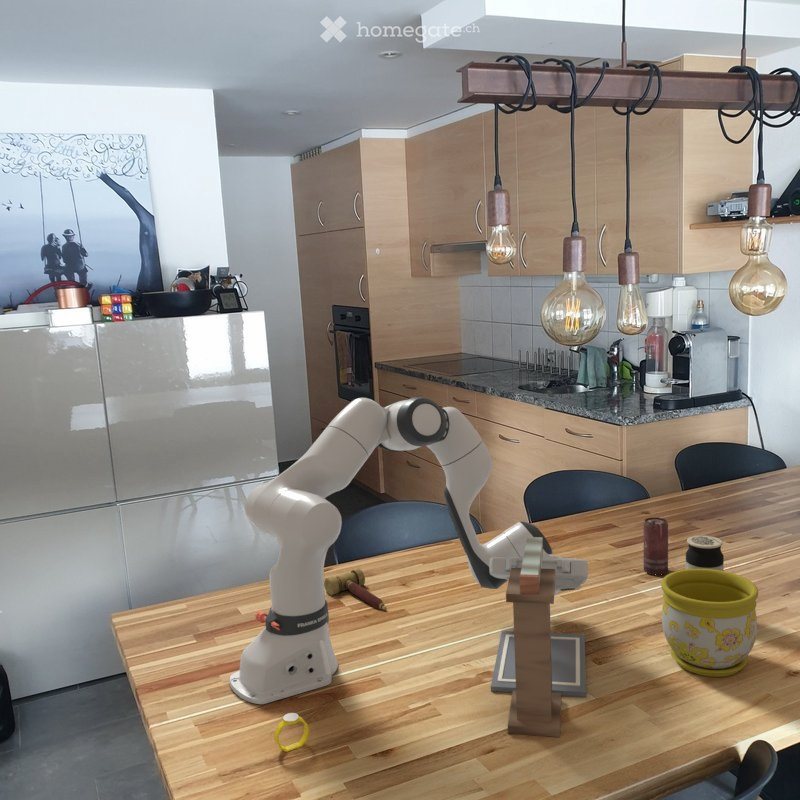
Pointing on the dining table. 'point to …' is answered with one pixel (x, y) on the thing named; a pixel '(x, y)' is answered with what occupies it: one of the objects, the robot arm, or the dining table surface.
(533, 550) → the grey green bar
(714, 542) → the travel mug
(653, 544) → the can
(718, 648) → the flowerpot
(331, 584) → the gavel
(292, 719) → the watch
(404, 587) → the dining table surface
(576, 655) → the mat
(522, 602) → the stand
